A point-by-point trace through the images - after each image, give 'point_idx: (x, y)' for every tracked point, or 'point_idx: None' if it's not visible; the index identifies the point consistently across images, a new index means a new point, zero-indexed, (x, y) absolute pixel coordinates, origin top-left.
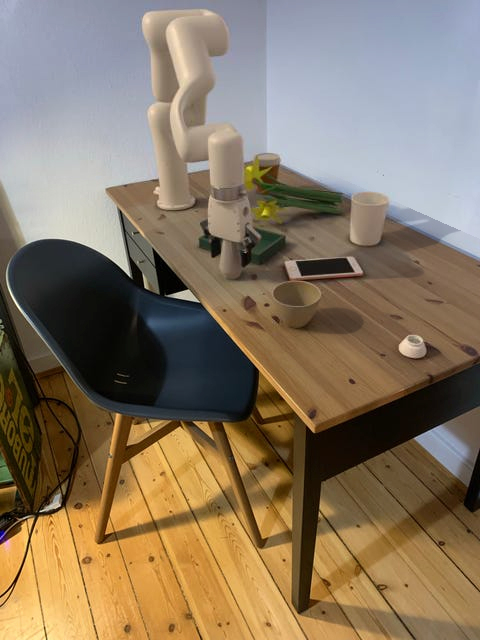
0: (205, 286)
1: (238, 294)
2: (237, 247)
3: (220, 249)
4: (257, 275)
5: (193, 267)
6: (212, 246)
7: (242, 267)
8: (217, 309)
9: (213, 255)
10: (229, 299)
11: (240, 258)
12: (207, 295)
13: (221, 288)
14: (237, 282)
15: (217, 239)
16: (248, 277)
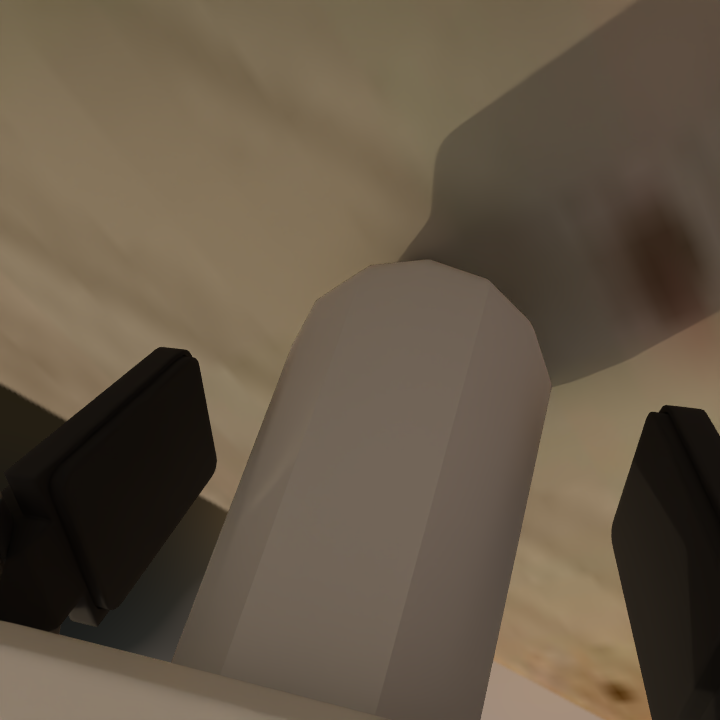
0: None
1: None
2: (498, 620)
3: (165, 389)
4: (692, 218)
5: (91, 349)
6: (124, 584)
7: (543, 359)
8: (569, 689)
9: (199, 490)
10: (592, 607)
11: (523, 428)
12: None
13: None
14: None
15: (42, 540)
16: (603, 300)
